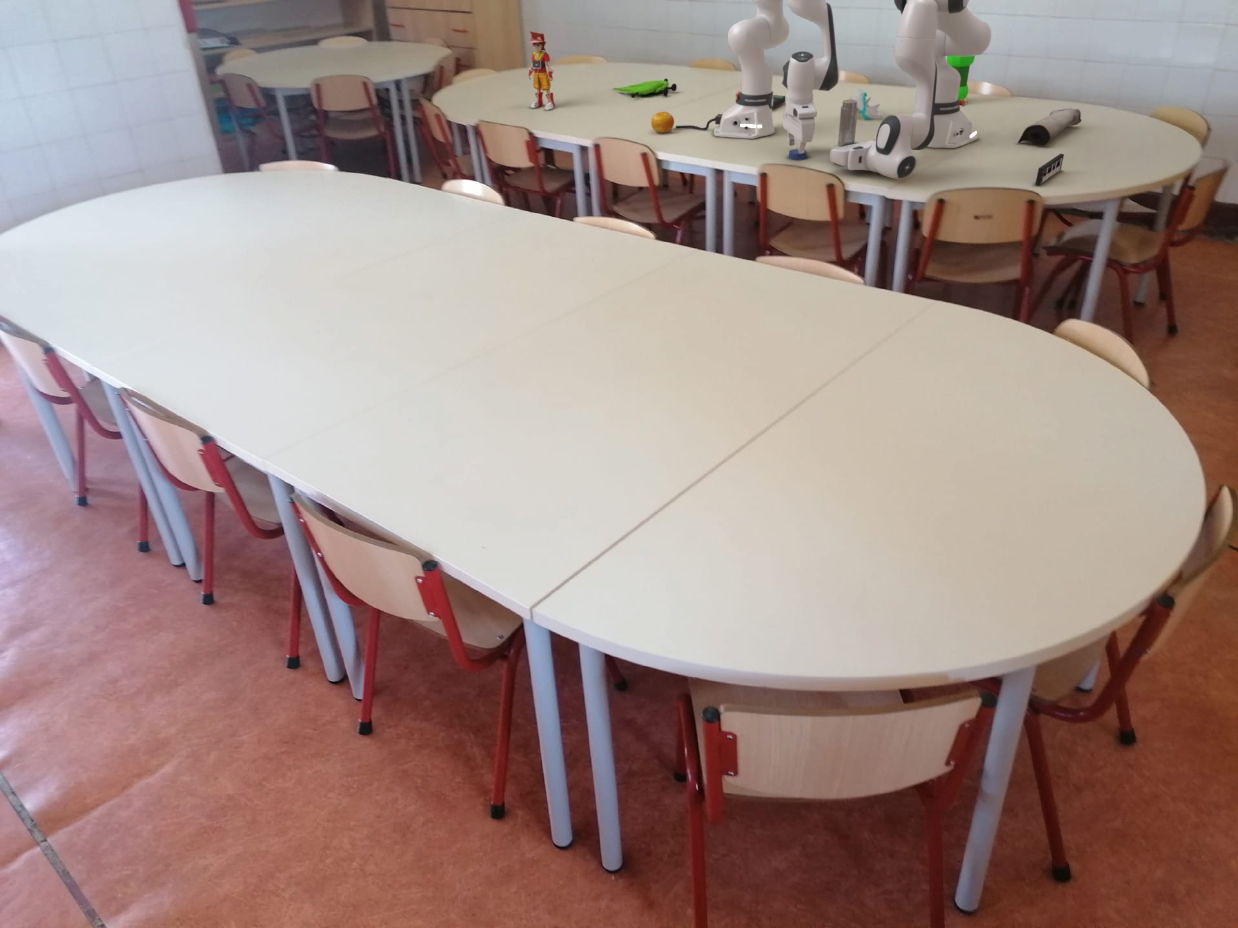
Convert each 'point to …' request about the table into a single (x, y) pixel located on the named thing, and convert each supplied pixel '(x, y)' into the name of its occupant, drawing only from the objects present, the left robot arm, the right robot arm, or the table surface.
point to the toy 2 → (648, 88)
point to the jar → (848, 123)
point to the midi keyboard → (1049, 169)
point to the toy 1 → (541, 71)
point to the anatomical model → (866, 106)
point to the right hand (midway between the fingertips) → (844, 146)
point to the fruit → (662, 122)
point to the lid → (797, 154)
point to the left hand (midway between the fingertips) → (795, 149)
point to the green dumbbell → (961, 72)
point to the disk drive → (778, 100)
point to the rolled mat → (1050, 126)
